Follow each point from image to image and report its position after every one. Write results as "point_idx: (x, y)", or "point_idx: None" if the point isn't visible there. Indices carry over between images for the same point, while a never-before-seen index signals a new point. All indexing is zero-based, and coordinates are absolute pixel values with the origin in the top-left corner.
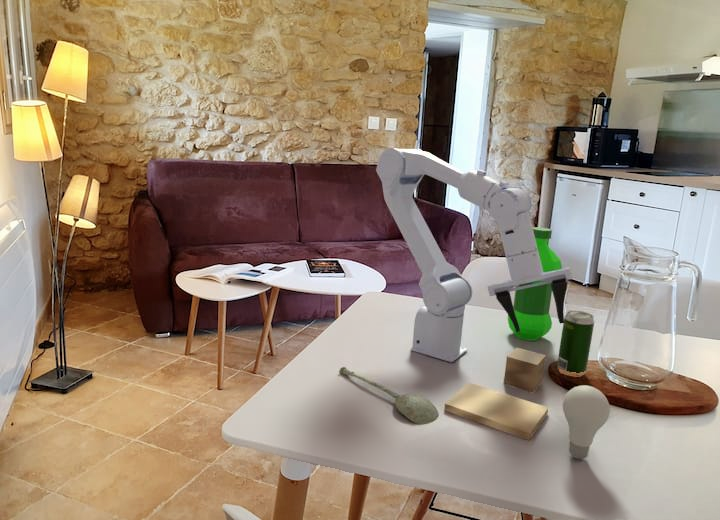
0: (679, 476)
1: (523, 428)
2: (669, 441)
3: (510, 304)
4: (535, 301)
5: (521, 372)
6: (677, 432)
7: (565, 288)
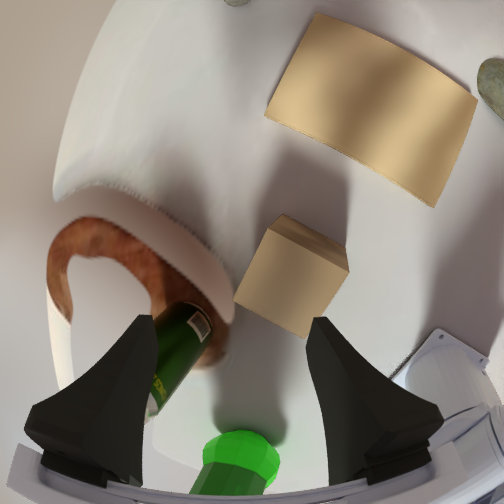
0: (122, 27)
1: (328, 24)
2: (100, 107)
3: (372, 400)
4: (222, 485)
5: (308, 239)
6: (85, 140)
7: (40, 403)
